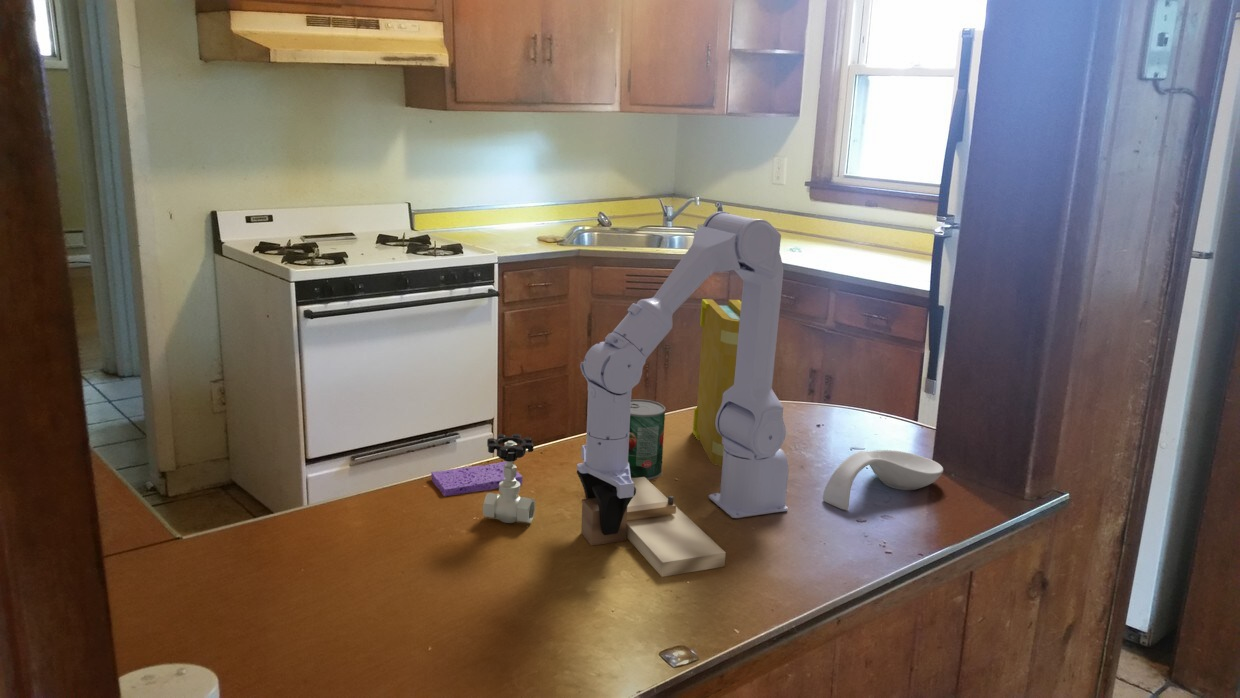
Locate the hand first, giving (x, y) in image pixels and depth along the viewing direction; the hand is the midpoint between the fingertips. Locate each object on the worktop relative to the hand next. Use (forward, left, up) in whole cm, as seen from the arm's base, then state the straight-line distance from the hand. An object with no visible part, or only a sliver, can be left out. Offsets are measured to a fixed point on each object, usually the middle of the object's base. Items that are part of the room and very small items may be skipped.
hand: (603, 526), depth 126 cm
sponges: (+12, -23, -2) cm, 26 cm away
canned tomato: (-14, -20, -2) cm, 25 cm away
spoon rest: (-49, -2, -2) cm, 49 cm away
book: (-32, -25, -2) cm, 41 cm away
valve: (+11, -8, -2) cm, 14 cm away
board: (-7, 0, -2) cm, 8 cm away
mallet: (-4, 0, -2) cm, 4 cm away
